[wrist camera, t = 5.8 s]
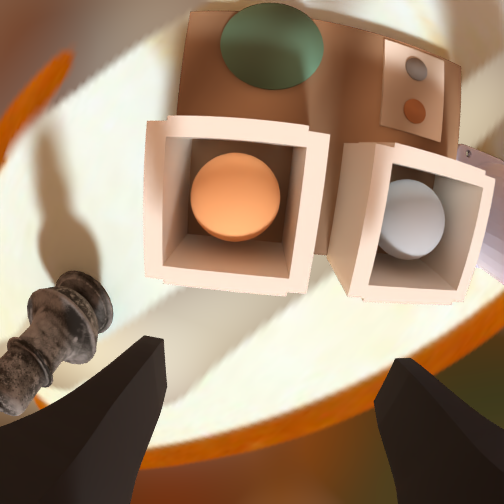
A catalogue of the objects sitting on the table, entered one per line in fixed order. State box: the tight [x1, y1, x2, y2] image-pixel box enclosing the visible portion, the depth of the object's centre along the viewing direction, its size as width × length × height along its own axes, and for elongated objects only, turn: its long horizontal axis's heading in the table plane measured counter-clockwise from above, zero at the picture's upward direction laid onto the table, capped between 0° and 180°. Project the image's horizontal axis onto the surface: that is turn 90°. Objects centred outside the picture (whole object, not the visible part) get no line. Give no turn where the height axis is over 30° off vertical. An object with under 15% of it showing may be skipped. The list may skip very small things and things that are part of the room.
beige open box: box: [143, 116, 330, 296], centre depth 13 cm, size 7×7×4 cm
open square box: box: [327, 142, 495, 305], centre depth 13 cm, size 7×7×4 cm
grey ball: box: [378, 179, 445, 260], centre depth 13 cm, size 4×4×4 cm
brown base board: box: [177, 3, 461, 255], centre depth 14 cm, size 16×14×2 cm
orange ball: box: [191, 153, 280, 242], centre depth 13 cm, size 4×4×4 cm
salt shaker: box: [0, 271, 113, 416], centre depth 14 cm, size 6×6×12 cm
